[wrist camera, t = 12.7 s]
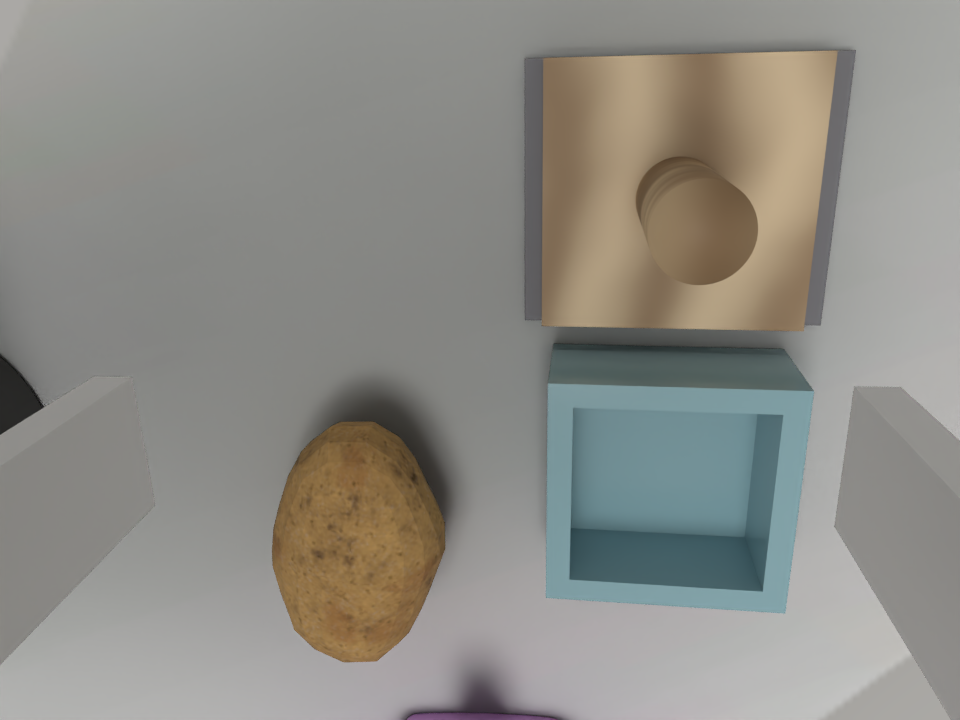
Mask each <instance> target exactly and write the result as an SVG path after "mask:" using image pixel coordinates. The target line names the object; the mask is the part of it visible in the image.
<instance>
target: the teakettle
mask: <svg viewBox="0 0 960 720" xmlns="http://www.w3.org/2000/svg"><path fill="white" fill-rule="evenodd" d="M407 720H557V719H554V718H550V717H541V716H531V715H514V714H495V713H418V714H413V715H411V716H410V717H409V718H408V719H407Z"/></svg>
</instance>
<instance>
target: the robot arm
mask: <svg viewBox="0 0 960 720" xmlns="http://www.w3.org/2000/svg"><path fill="white" fill-rule="evenodd" d="M154 506H155V500H154V494H153V489H152V483H151V478H150V472H149V467H148V461H147V456H146V451H145V445H144V440H143V434H142V429H141V423H140V418H139V412H138V407H137V401H136V396H135V391H134V385H133V380H132V377H103V376H94V377H92V378H91V379H89V380H87V381H86V382H84V383H83V384H81V385H79V386H78V387H76V388H75V389H73V390H71V391H70V392H68V393H66V394H65V395H63V396H62V397H60V398H58V399H57V400H55V401H54V402H52V403H50V404H49V405H47V406H46V407H44V408H41V406H40V404H39V403H38V401H37V399H36V397H35V396H34V394H33V393H32V391H31V390H30V388H29V387H28V386H27V384H26V383H25V382H24V381H23V379H22V378H21V377H20V376H19V375H18V374H17V373H16V372H15V370H14V369H13V368H12V367H11V366H10V365H9V364H7V363H6V362H5V361H4V360H3V359H2V358H1V357H0V665H1V664H2V663H3V662H4V660H5V659H6V658H7V657H8V656H9V655H10V654H11V653H12V652H13V651H14V650H15V649H16V648H17V647H18V646H19V645H20V644H21V643H22V642H23V641H24V640H25V639H26V638H27V637H28V636H29V635H30V634H31V633H32V632H33V631H34V630H35V629H36V628H37V627H38V625H39V624H40V623H41V622H42V621H43V620H44V619H45V618H46V617H47V616H48V615H49V614H50V613H51V612H52V611H53V610H54V609H55V608H56V607H57V606H58V605H59V604H60V603H61V602H62V601H63V600H64V599H65V598H66V597H67V596H68V595H69V594H70V593H71V592H72V590H73V589H74V588H75V587H76V586H77V585H78V584H79V583H80V582H81V581H82V580H83V579H84V578H85V577H86V576H87V575H88V574H89V573H90V572H91V571H92V570H93V569H94V568H95V567H96V566H97V565H98V564H99V563H100V562H101V561H102V560H103V559H104V558H105V556H106V555H107V554H108V553H109V552H110V551H111V550H112V549H113V548H114V547H115V546H116V545H117V544H118V543H119V542H120V541H121V540H122V539H123V538H124V537H125V536H126V535H127V534H128V533H129V532H130V531H131V530H132V529H133V528H134V527H135V526H136V525H137V524H138V523H139V521H140V520H141V519H142V518H143V517H144V516H145V515H146V514H147V513H148V512H149V511H150V510H151V509H152V508H153V507H154ZM834 527H835V528H836V530H837V532H838V533H839V535H840V536H841V538H842V540H843V541H844V543H845V545H846V546H847V548H848V550H849V551H850V553H851V555H852V556H853V558H854V560H855V561H856V563H857V565H858V566H859V568H860V570H861V571H862V573H863V575H864V576H865V578H866V580H867V581H868V583H869V585H870V586H871V588H872V590H873V591H874V593H875V595H876V596H877V598H878V600H879V601H880V603H881V605H882V606H883V608H884V609H885V611H886V613H887V614H888V616H889V618H890V619H891V621H892V623H893V624H894V626H895V628H896V629H897V631H898V633H899V634H900V636H901V638H902V639H903V641H904V643H905V644H906V646H907V648H908V649H909V651H910V653H911V654H912V656H913V658H914V659H915V661H916V663H917V664H918V666H919V667H920V669H921V671H922V673H923V674H924V676H925V678H926V679H927V681H928V682H929V684H930V686H931V687H932V689H933V691H934V692H935V694H936V696H937V697H938V699H939V701H940V702H941V704H942V706H943V707H944V709H945V710H946V712H947V714H948V715H949V717H950V719H951V720H960V441H959V440H958V439H957V438H956V437H955V436H954V435H953V434H952V433H951V432H950V431H948V430H947V429H946V428H945V427H944V426H943V425H942V424H941V423H940V422H939V421H937V420H936V419H935V418H934V417H933V416H932V415H931V414H930V413H929V412H928V411H927V410H925V409H924V408H923V407H922V406H921V405H920V404H919V403H918V402H917V401H916V400H914V399H913V398H912V397H911V396H910V395H909V394H908V393H907V392H906V391H905V390H904V389H902V388H901V387H856V386H854V391H853V398H852V405H851V412H850V419H849V427H848V434H847V441H846V448H845V455H844V462H843V469H842V476H841V483H840V490H839V497H838V504H837V511H836V518H835V525H834Z"/></svg>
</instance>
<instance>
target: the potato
mask: <svg viewBox="0 0 960 720" xmlns="http://www.w3.org/2000/svg"><path fill="white" fill-rule="evenodd" d="M444 551H445V522H444V519H443V517H442V514H441V512H440V509H439V506H438V504H437V501H436V499H435V497H434V495H433V493H432V491H431V489H430V487H429V486H428V484H427V482H426V480H425V478H424V475H423V473H422V471H421V469H420V467H419V465H418V463H417V461H416V458H415V457H414V456H413V454H412V453H411V452H410V450H409V449H408V448H407V446H406V445H405V444H404V442H403V441H402V440H401V438H400V437H398V436H397V435H395V434H393V433H392V432H390V431H388V430H387V429H385V428H383V427H382V426H380V425H378V424H377V423H375V422H339V423H337V424H335V425H333V426H331V427H330V428H328V429H327V430H325V431H324V432H323V433H321V434H320V435H319V436H317V437H316V438H315V439H313V440H312V441H311V442H310V443H309V444H308V445H307V446H306V447H305V448H304V449H303V450H302V451H301V453H300V455H299V457H298V459H297V461H296V463H295V464H294V466H293V468H292V470H291V472H290V474H289V476H288V478H287V482H286V485H285V488H284V491H283V495H282V498H281V501H280V504H279V508H278V512H277V516H276V520H275V525H274V529H273V545H272V561H273V569H274V572H275V575H276V579H277V582H278V585H279V589H280V592H281V595H282V597H283V600H284V602H285V605H286V608H287V610H288V613H289V616H290V618H291V621H292V624H293V627H294V630H295V631H296V632H297V633H298V634H299V635H300V636H302V637H303V638H304V639H305V640H306V641H307V642H308V643H309V644H310V645H311V646H312V647H313V648H314V649H316V650H318V651H320V652H322V653H325V654H327V655H329V656H331V657H333V658H336V659H338V660H340V661H342V662H369V661H377V660H379V659H380V658H381V657H382V656H383V655H385V654H386V653H387V652H388V651H389V650H391V649H392V648H393V647H394V646H395V645H397V644H398V643H399V642H400V641H401V640H402V639H403V638H404V637H405V636H406V635H407V634H408V633H409V631H410V629H411V628H412V626H413V624H414V622H415V620H416V618H417V616H418V614H419V612H420V610H421V609H422V606H423V604H424V602H425V599H426V597H427V595H428V592H429V590H430V587H431V585H432V582H433V579H434V577H435V574H436V572H437V569H438V567H439V564H440V561H441V559H442V556H443V553H444Z"/></svg>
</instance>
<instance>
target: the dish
mask: <svg viewBox="0 0 960 720" xmlns="http://www.w3.org/2000/svg"><path fill="white" fill-rule="evenodd" d="M813 395H814V391H813V389H812V388H811V386H810V385H809V384H808V382H807V381H806V379H805V378H804V377H803V375H802V374H801V372H800V371H799V370H798V368H797V367H796V365H795V364H794V363H793V361H792V360H791V358H790V357H789V356H788V354H787V353H786V351H785V350H784V349H760V348H716V347H671V346H627V345H583V344H554V345H553V352H552V358H551V365H550V372H549V379H548V418H547V529H546V598H557V599H572V600H587V601H603V602H618V603H633V604H648V605H664V606H679V607H694V608H710V609H725V610H740V611H756V612H771V613H785V611H786V603H787V596H788V588H789V580H790V572H791V565H792V557H793V549H794V542H795V534H796V526H797V518H798V511H799V503H800V495H801V488H802V480H803V472H804V465H805V457H806V449H807V441H808V434H809V426H810V418H811V411H812V403H813Z"/></svg>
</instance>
